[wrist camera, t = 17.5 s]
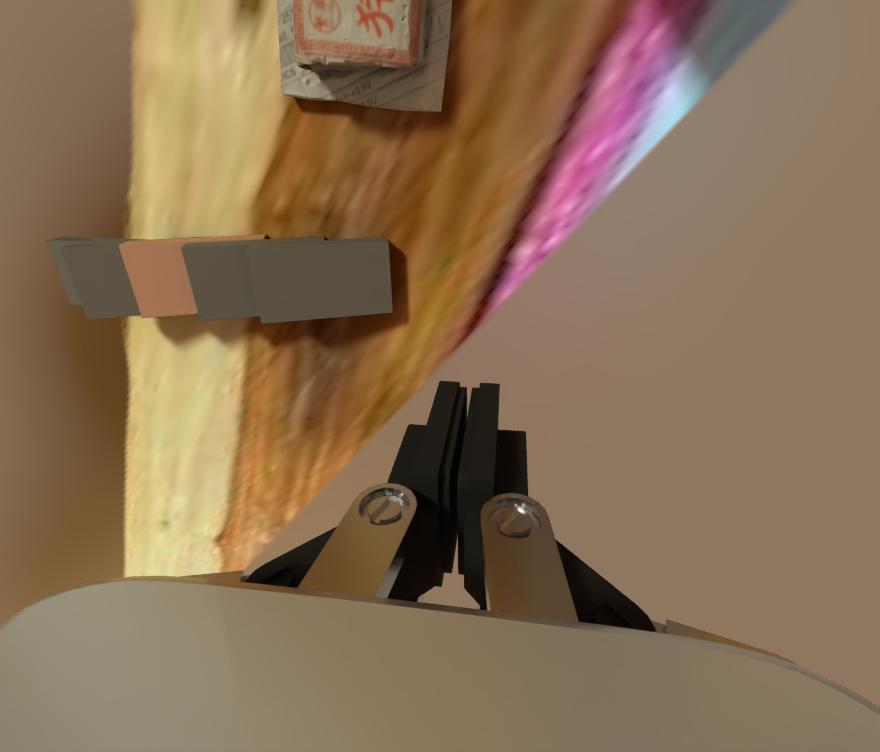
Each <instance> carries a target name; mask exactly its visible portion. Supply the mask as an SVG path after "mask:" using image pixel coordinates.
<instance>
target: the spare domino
mask: <svg viewBox="0 0 880 752" xmlns="http://www.w3.org/2000/svg"><path fill="white" fill-rule="evenodd" d="M260 239H267V238H266V234H262V235H242V236H221V237H201V238H180V239H160V240H139V241H127V242H124V243H122V244H120V245H119V249H120V252H121V255H122V258H123V261H124V264H125V267H126V270H127V273H128V276H129V279H130V282H131V285H132V288H133V291H134V295H135V298H136V301H137V304H138V307H139V310H140V313H141V316H142V318H150V317H162V316H174V315H187V314H198V311H197V307H196V303H195V299H194V296H193V292H192V288H191V284H190V281H189V277H188V273H187V269H186V265H185V262H184V258H183V254H182V250H181V247H182V246H184V245H185V244H186V243H199V242H219V241H239V240H260Z"/></svg>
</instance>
